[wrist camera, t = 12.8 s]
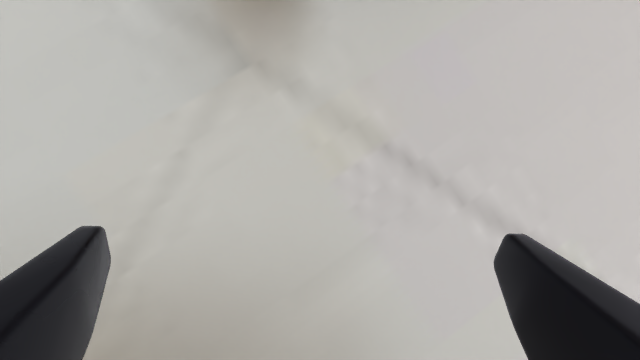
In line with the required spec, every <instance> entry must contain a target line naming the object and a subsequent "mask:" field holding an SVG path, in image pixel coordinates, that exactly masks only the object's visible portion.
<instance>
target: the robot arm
mask: <svg viewBox="0 0 640 360" xmlns="http://www.w3.org/2000/svg"><path fill="white" fill-rule="evenodd" d="M110 263H111V256H110V251H109V246H108V241H107V237H106V232H105V230H104V228H103V227H101V226H82V227H80V228H78V229H76V230H75V231H73V232H72V233H70V234H69V235H67V236H66V237H64V238H63V239H61V240H60V241H58V242H57V243H56V244H54V245H53V246H51V247H50V248H48V249H47V250H45V251H44V252H42V253H41V254H39V255H38V256H36V257H35V258H33V259H32V260H30V261H29V262H27V263H26V264H24V265H23V266H21V267H20V268H18V269H17V270H15V271H14V272H13V273H11V274H10V275H8V276H7V277H5V278H4V279H2V280H1V281H0V360H82V359H83V357H84V354H85V352H86V349H87V347H88V344H89V341H90V338H91V336H92V333H93V329H94V326H95V322H96V319H97V315H98V311H99V307H100V303H101V299H102V296H103V292H104V288H105V284H106V280H107V276H108V272H109V269H110ZM494 269H495V272H496V275H497V278H498V281H499V284H500V287H501V291H502V294H503V297H504V300H505V303H506V306H507V309H508V312H509V315H510V318H511V320H512V323H513V326H514V328H515V331H516V333H517V335H518V338H519V340H520V342H521V344H522V347H523V349H524V351H525V353H526V356H527V358H528V360H640V304H639V303H637V302H635V301H634V300H632V299H630V298H629V297H627V296H626V295H624V294H622V293H621V292H619V291H617V290H616V289H614V288H612V287H611V286H609V285H607V284H606V283H604V282H603V281H601V280H599V279H598V278H596V277H594V276H593V275H591V274H589V273H588V272H586V271H584V270H583V269H581V268H580V267H578V266H576V265H575V264H573V263H571V262H570V261H568V260H566V259H565V258H563V257H561V256H560V255H558V254H557V253H555V252H553V251H552V250H550V249H548V248H547V247H545V246H543V245H542V244H540V243H538V242H537V241H535V240H534V239H532V238H530V237H529V236H527V235H525V234H507V235H506V236H505V237H504V238H503V241H502V243H501V245H500V247H499V250H498V252H497V254H496V256H495V259H494Z"/></svg>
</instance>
